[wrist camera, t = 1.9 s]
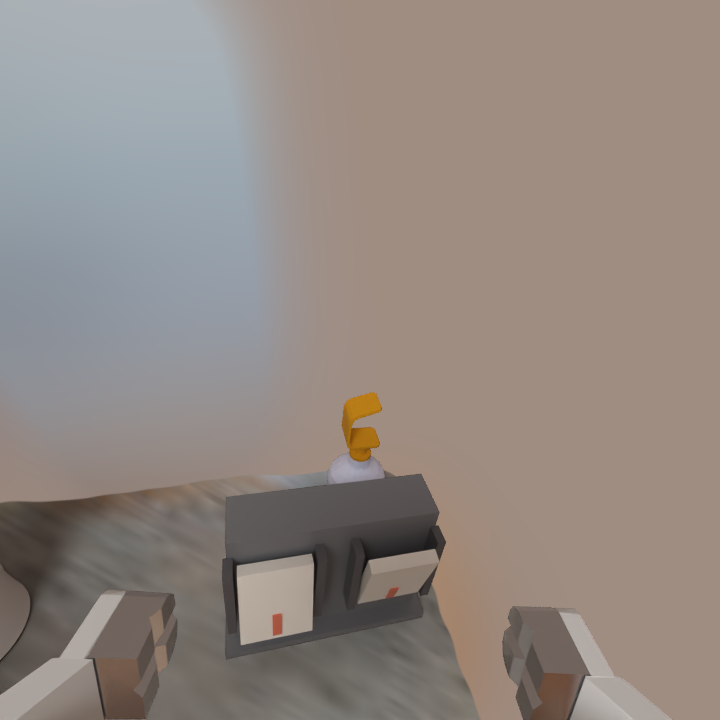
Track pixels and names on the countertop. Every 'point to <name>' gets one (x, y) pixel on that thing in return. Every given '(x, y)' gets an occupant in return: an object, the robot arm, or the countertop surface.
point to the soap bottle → (357, 444)
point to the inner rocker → (275, 598)
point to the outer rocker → (396, 575)
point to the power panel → (331, 549)
